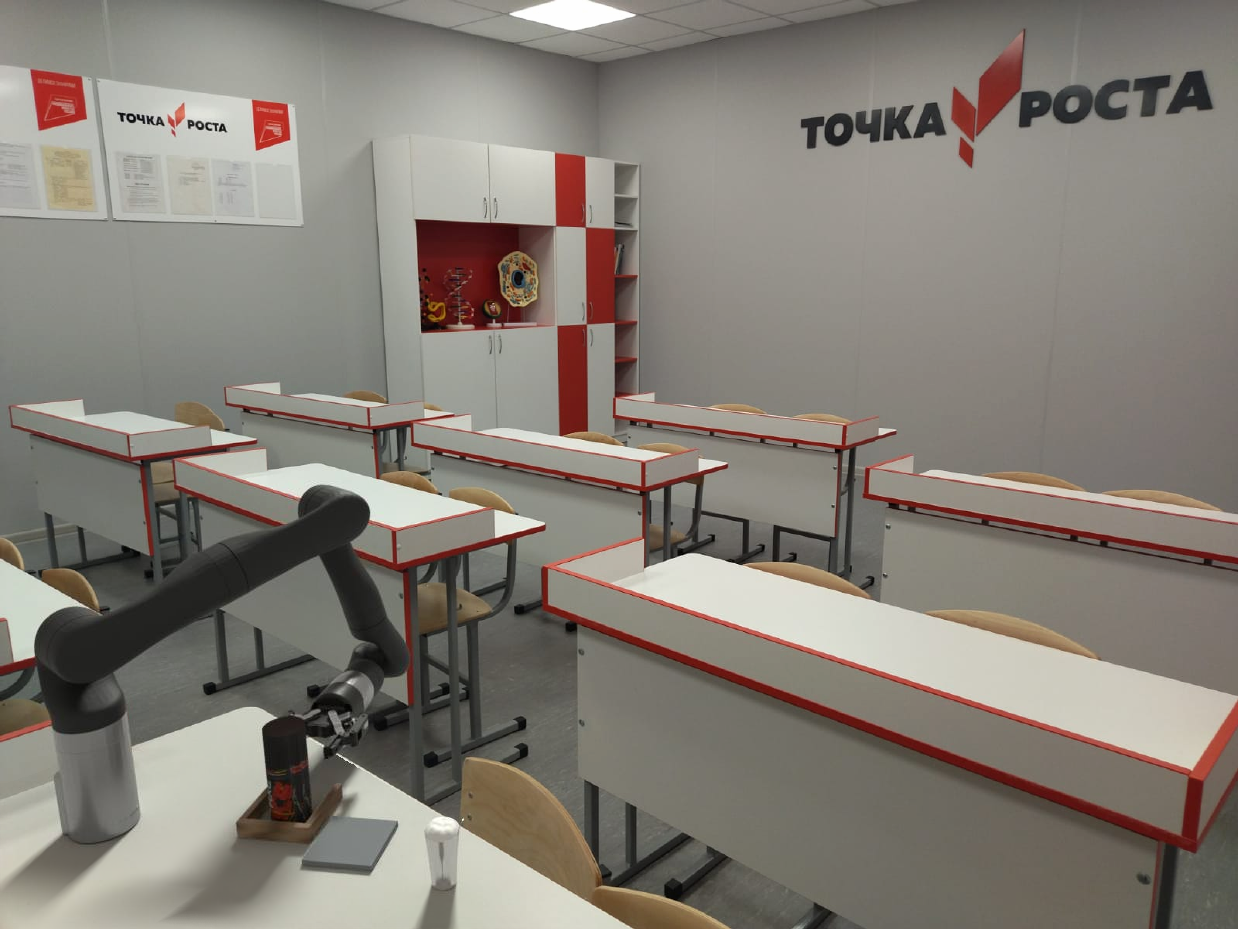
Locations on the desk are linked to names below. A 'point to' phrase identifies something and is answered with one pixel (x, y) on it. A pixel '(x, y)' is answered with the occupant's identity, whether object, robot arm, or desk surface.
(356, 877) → the desk surface
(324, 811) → the walnut bay
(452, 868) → the milkshake
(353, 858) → the pad
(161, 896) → the desk surface
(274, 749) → the deodorant
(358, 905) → the desk surface
